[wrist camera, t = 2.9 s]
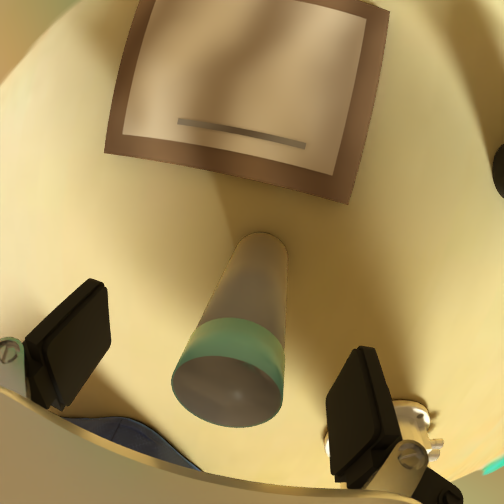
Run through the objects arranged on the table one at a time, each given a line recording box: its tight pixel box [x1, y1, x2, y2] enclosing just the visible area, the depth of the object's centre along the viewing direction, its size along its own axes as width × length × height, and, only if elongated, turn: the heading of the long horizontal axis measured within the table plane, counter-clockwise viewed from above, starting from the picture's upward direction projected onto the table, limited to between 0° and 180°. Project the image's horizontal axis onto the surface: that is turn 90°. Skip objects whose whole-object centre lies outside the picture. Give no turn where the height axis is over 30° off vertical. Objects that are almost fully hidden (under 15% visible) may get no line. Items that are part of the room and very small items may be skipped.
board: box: [104, 0, 390, 205], centre depth 16 cm, size 17×14×2 cm
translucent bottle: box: [171, 232, 288, 428], centre depth 15 cm, size 4×4×13 cm
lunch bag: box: [61, 417, 201, 471], centre depth 27 cm, size 31×21×20 cm
